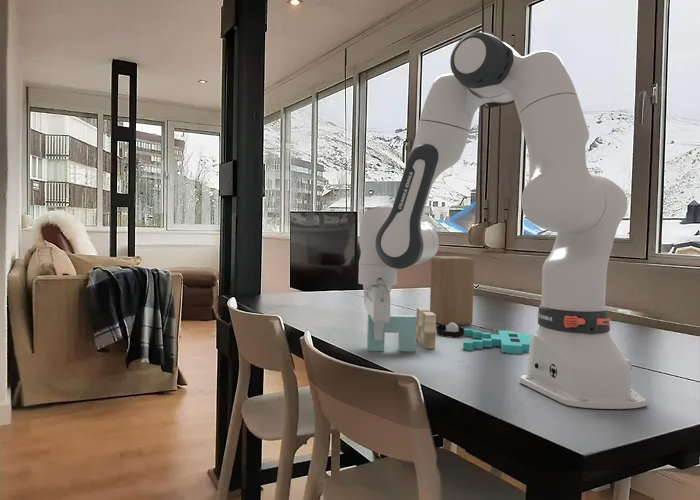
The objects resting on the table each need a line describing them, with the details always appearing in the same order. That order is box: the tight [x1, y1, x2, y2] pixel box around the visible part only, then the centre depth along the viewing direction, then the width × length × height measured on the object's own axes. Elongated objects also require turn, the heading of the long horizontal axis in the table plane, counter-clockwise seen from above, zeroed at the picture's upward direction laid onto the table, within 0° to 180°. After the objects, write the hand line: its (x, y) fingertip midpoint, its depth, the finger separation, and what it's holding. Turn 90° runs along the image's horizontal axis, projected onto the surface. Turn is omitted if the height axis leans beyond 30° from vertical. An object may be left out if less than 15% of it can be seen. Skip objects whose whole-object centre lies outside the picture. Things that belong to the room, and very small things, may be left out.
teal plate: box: [366, 314, 417, 352], centre depth 132 cm, size 2×11×8 cm, turn 94°
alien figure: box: [462, 327, 535, 355], centre depth 143 cm, size 20×2×20 cm
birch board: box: [415, 307, 437, 350], centre depth 141 cm, size 12×2×8 cm, turn 4°
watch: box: [436, 322, 464, 338], centre depth 153 cm, size 8×5×4 cm, turn 57°
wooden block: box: [429, 255, 475, 326], centre depth 173 cm, size 10×10×20 cm
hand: (376, 336), depth 132 cm, fingers open, 5 cm apart
